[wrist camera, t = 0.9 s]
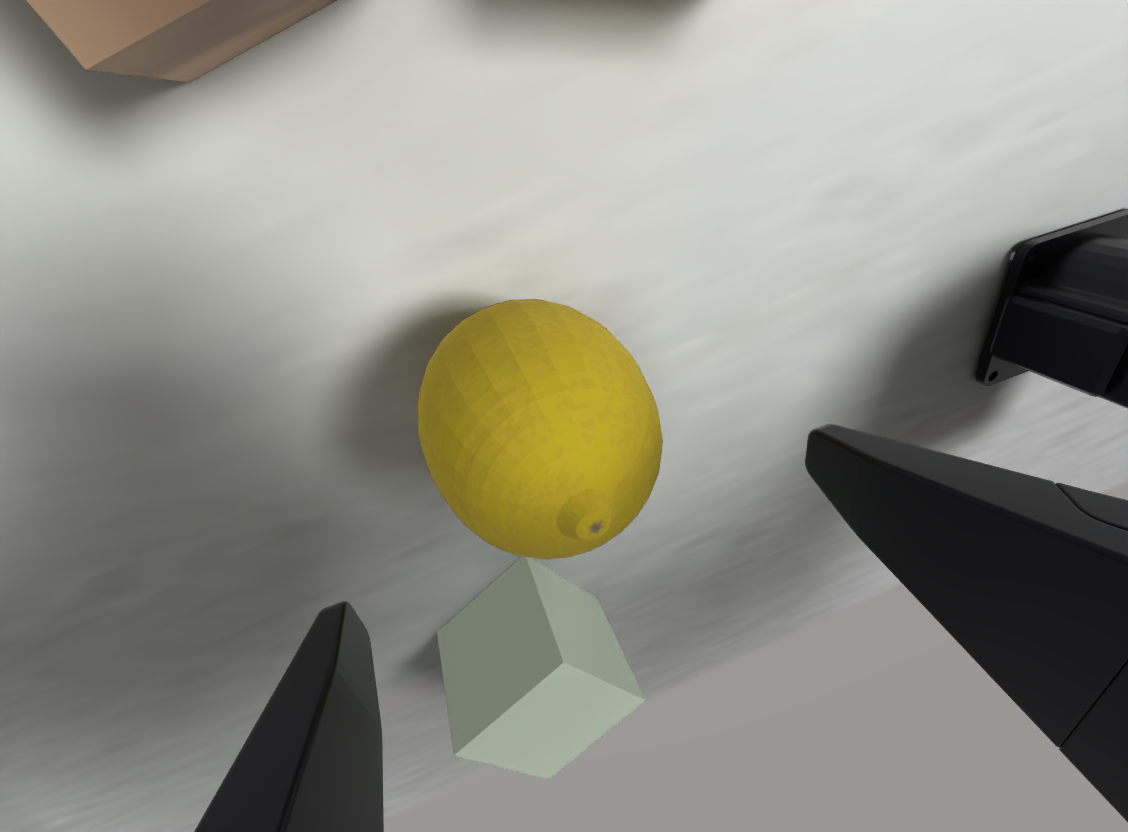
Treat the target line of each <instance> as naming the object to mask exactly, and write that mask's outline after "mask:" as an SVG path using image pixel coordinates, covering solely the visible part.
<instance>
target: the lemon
mask: <svg viewBox="0 0 1128 832" xmlns="http://www.w3.org/2000/svg"><path fill="white" fill-rule="evenodd" d="M418 434H419V440H420V444H421V448H422V451H423V454H424V457H425V460H426V463H427V466H428V469H429V472H430V475H431V477H432V479H433V481H434V483H435V485H436V487H437V489H438V490H439V492H440V493H441V495H442V496H443V498H444V499H445V500H446V502H447V503H448V504H449V506H450V507H451V508H452V510H453V511H454V513H455V514H456V515H457V517H458V518H459V519H460V520H461V521H462V523H463V524H464V525H465V526H467V527H468V528H469V529H470V530H471V531H473V532H474V533H475V534H477V535H478V536H479V537H481V538H482V539H483V540H485V541H486V542H488V543H489V544H491V545H493V546H495V547H497V548H499V549H502V550H504V551H507V552H510V553H512V554H515V555H518V556H524V557H532V558H541V559H553V558H564V557H570V556H574V555H578V554H581V553H585V552H588V551H591V550H593V549H595V548H597V547H599V546H601V545H603V544H605V543H607V542H608V541H609V540H611V539H612V538H614V537H615V536H616V535H618V534H619V533H621V532H622V531H623V530H624V529H625V528H626V527H627V526H628V525H629V524H630V523H631V521H632V520H633V519H634V518H635V517H636V516H637V515H638V513H639V512H640V510H641V509H642V507H643V506H644V504H645V503H646V501H647V500H648V498H649V496H650V494H651V491H652V489H653V486H654V484H655V481H656V478H657V476H658V473H659V468H660V460H661V453H662V443H663V441H662V434H661V427H660V421H659V415H658V409H657V406H656V403H655V400H654V397H653V395H652V393H651V391H650V389H649V387H648V385H647V383H646V381H645V379H644V376H643V374H642V372H641V370H640V369H639V367H638V365H637V363H636V361H635V360H634V358H633V357H632V356H631V354H630V353H629V352H628V351H627V350H626V348H625V347H624V346H623V345H622V344H621V343H620V342H619V341H618V340H617V339H616V338H615V337H614V336H613V335H612V334H611V333H610V332H609V331H608V330H607V329H606V328H605V327H604V326H603V325H601V324H600V323H598V322H596V321H595V320H593V319H591V318H589V317H588V316H586V315H584V314H582V313H580V312H578V311H577V310H575V309H573V308H571V307H568V306H565V305H561V304H556V303H552V302H548V301H544V300H538V299H529V300H509V301H505V302H502V303H499V304H495V305H492V306H488V307H485V308H483V309H481V310H480V311H478V312H476V313H475V314H473V315H471V316H469V317H468V318H466V319H464V320H462V321H461V322H460V323H459V324H458V325H457V326H456V327H455V328H454V329H453V330H452V331H451V332H450V333H448V334H447V335H446V336H445V337H444V338H443V339H442V341H441V343H440V344H439V346H438V347H437V349H436V351H435V352H434V354H433V356H432V357H431V359H430V361H429V362H428V364H427V367H426V371H425V374H424V378H423V381H422V384H421V388H420V392H419V396H418Z"/></svg>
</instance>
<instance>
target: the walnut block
mask: <svg viewBox="0 0 1128 832" xmlns="http://www.w3.org/2000/svg"><path fill="white" fill-rule="evenodd" d="M26 1H27V2H28V3H29V4H30V5H31V7H32V8H33V9H34V10H35V11H36V12H37V14H38V15H39V16H40V17H41V18H42V19H43V21H44V22H45V23H46V24H47V25H48V26H49V28H50V29H51V30H52V31H53V32H54V33H55V35H56V36H57V37H58V38H59V39H60V40H61V42H62V43H63V44H64V45H65V46H66V47H67V49H68V50H69V51H70V52H71V53H72V54H73V56H74V57H75V58H76V59H77V60H78V61H79V63H80V64H81V65H82V66H83V67H84V68H85V70H91V71H99V72H108V73H116V74H124V75H132V76H141V77H149V78H157V79H165V80H174V81H182V82H192V81H193V80H195V79H197V78H199V77H201V76H202V75H204V74H206V73H208V72H209V71H211V70H213V69H215V68H217V67H218V66H220V65H222V64H224V63H226V62H227V61H229V60H231V59H233V58H234V57H236V56H238V55H240V54H242V53H243V52H245V51H247V50H249V49H250V48H252V47H254V46H256V45H258V44H259V43H261V42H263V41H265V40H267V39H268V38H270V37H272V36H274V35H275V34H277V33H279V32H281V31H283V30H284V29H286V28H288V27H290V26H292V25H293V24H295V23H297V22H299V21H300V20H302V19H304V18H306V17H308V16H309V15H311V14H313V13H315V12H316V11H318V10H320V9H322V8H324V7H325V6H327V5H329V4H331V3H333V2H334V1H336V0H26Z"/></svg>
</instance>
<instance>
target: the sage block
mask: <svg viewBox="0 0 1128 832" xmlns="http://www.w3.org/2000/svg"><path fill="white" fill-rule="evenodd" d="M437 637H438V644H439V651H440V658H441V666H442V673H443V680H444V688H445V695H446V702H447V709H448V717H449V724H450V731H451V739H452V746H453V753H454V756H457V757H461V758H465V759H469V760H474V761H478V762H482V763H486V764H490V765H494V766H498V767H502V768H506V769H510V770H514V771H518V772H522V773H526V774H530V775H534V776H539V777H543V778H547V779H550V778H551V777H552V776H553V775H554V774H556V773H557V772H558V771H559V770H561V769H562V768H563V767H564V766H566V765H567V764H568V763H569V762H570V761H572V760H573V759H574V758H575V757H577V756H578V755H579V754H580V753H582V752H583V751H584V750H585V749H586V748H588V747H589V746H590V745H591V744H593V743H594V742H595V741H596V740H597V739H599V738H600V737H601V736H602V735H604V734H605V733H606V732H607V731H609V730H610V729H611V728H612V727H614V726H615V725H616V724H617V723H618V722H620V721H621V720H622V719H623V718H625V717H626V716H627V715H628V714H629V713H631V712H632V711H633V710H634V709H636V708H637V707H638V706H639V705H641V704H642V703H643V702H644V701H646V700H645V698H644V696H643V694H642V692H641V689H640V687H639V685H638V683H637V681H636V679H635V677H634V675H633V672H632V670H631V668H630V666H629V664H628V662H627V660H626V658H625V656H624V653H623V651H622V649H621V647H620V645H619V643H618V641H617V639H616V636H615V634H614V632H613V630H612V628H611V626H610V624H609V622H608V620H607V617H606V615H605V613H604V611H603V609H602V607H601V605H600V603H599V601H598V598H596V597H595V596H593V595H591V594H590V593H588V592H586V591H585V590H583V589H582V588H580V587H578V586H577V585H575V584H573V583H572V582H570V581H569V580H567V579H565V578H564V577H562V576H560V575H559V574H557V573H556V572H554V571H552V570H551V569H549V568H547V567H546V566H544V565H542V564H541V563H539V562H538V561H536V560H534V559H533V558H531V557H524V556H522V557H521V558H519V559H518V560H517V561H516V562H515V563H514V564H513V565H512V566H511V567H509V568H508V569H507V570H506V571H505V572H504V573H503V574H502V575H500V576H499V577H498V578H497V579H496V580H495V581H494V582H493V583H491V584H490V585H489V586H488V587H487V588H486V589H485V590H484V591H483V592H481V593H480V594H479V595H478V596H477V597H476V598H475V599H474V600H472V601H471V602H470V603H469V604H468V605H467V606H466V607H465V608H464V609H462V610H461V611H460V612H459V613H458V614H457V615H456V616H455V617H453V618H452V619H451V620H450V621H449V622H448V623H447V624H446V625H445V626H443V627H442V628H441V629H440V630H439V631H438V632H437Z"/></svg>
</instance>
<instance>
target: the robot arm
mask: <svg viewBox="0 0 1128 832" xmlns="http://www.w3.org/2000/svg"><path fill="white" fill-rule="evenodd" d="M1027 371H1031V372H1033V373H1036V374H1038V375H1041V376H1043V377H1046V378H1048V379H1050V380H1053V381H1055V382H1058V383H1060V384H1063V385H1065V386H1068V387H1070V388H1073V389H1075V390H1078V391H1080V392H1083V393H1085V394H1088V395H1090V396H1095V397H1097V396H1098V397H1100V398H1103V399H1105V400H1108V401H1110V402H1113V403H1115V404H1118V405H1120V406H1123V407H1125V408H1128V209H1126V210H1123V211H1120V212H1117V213H1114V214H1111V215H1107V216H1104V217H1101V218H1098V219H1095V220H1092V221H1089V222H1086V223H1082V224H1079V225H1076V226H1073V227H1070V228H1067V229H1064V230H1061V231H1057V232H1054V233H1051V234H1048V235H1045V236H1042V237H1039V238H1036V239H1033V240H1029V241H1027V242H1025V243H1023V244H1022V245H1021V246H1020V247H1019V249H1018V250H1017V251H1016V253H1015V256H1014V258H1013V261H1012V265H1011V268H1010V271H1009V274H1008V277H1007V280H1006V283H1005V286H1004V290H1003V293H1002V296H1001V299H1000V302H999V305H998V308H997V311H996V315H995V318H994V321H993V324H992V327H991V330H990V333H989V336H988V340H987V343H986V346H985V349H984V352H983V355H982V358H981V361H980V365H979V368H978V371H977V374H976V381H977V382H979V383H982V384H984V385H986V386H990V385H993V384H995V383H998V382H1001V381H1003V380H1006V379H1008V378H1011V377H1014V376H1016V375H1019V374H1022V373H1024V372H1027ZM805 466H806V469H807V471H808V473H809V475H810V476H811V477H812V479H813V480H814V481H815V482H816V484H817V485H818V486H819V488H820V489H821V490H822V491H823V493H824V494H825V495H826V497H827V498H828V499H829V501H830V502H831V503H832V504H833V506H834V507H835V508H836V510H837V511H838V512H839V513H840V515H841V516H842V517H843V519H844V520H845V521H846V522H847V524H848V525H849V526H850V527H851V529H852V530H853V531H854V532H855V534H856V535H857V536H858V537H859V538H860V539H861V540H862V541H863V542H864V544H865V545H866V546H867V547H868V548H869V549H870V550H871V551H872V552H873V553H874V554H875V555H876V556H877V557H878V558H879V559H880V560H881V562H882V563H883V564H884V565H885V566H886V567H887V568H888V569H889V570H890V571H891V572H892V573H893V574H894V575H895V576H896V577H897V578H898V579H899V581H900V582H901V583H902V584H903V585H904V586H905V587H906V588H907V589H908V590H909V591H910V592H911V593H912V594H913V595H914V596H915V597H916V599H917V600H919V602H920V603H921V604H922V605H923V606H924V607H925V608H926V609H927V610H928V611H929V612H930V613H931V614H932V615H933V616H934V618H935V619H936V620H937V621H938V622H939V623H940V624H941V625H942V626H943V627H944V628H945V629H946V630H947V631H948V632H949V633H950V634H951V635H952V636H953V637H954V639H955V640H956V641H957V642H958V643H959V644H960V645H961V646H962V647H963V648H964V649H965V650H966V651H967V652H968V653H969V655H971V657H972V658H973V659H974V660H975V661H976V662H977V663H978V664H979V665H980V666H981V667H982V668H983V669H984V670H985V671H986V672H987V674H988V675H989V676H990V677H991V678H992V679H993V680H994V681H995V682H996V683H997V684H998V685H999V686H1000V687H1001V688H1002V689H1003V690H1004V692H1005V693H1006V694H1007V695H1008V696H1009V697H1010V698H1011V699H1012V700H1013V701H1014V702H1015V703H1016V704H1017V705H1018V706H1019V707H1020V708H1021V709H1022V711H1023V712H1024V713H1025V714H1026V715H1027V716H1028V717H1029V718H1030V719H1031V720H1032V721H1033V722H1034V723H1035V724H1036V725H1037V726H1038V727H1039V728H1040V730H1041V731H1042V732H1043V733H1044V734H1045V735H1046V736H1047V737H1048V738H1049V739H1050V740H1051V741H1052V742H1053V743H1054V744H1055V745H1056V746H1057V747H1059V750H1060V751H1061V752H1062V753H1063V754H1064V755H1065V756H1066V757H1067V759H1068V760H1069V761H1070V762H1071V763H1072V764H1073V765H1074V766H1075V767H1076V768H1077V769H1078V770H1079V771H1080V772H1081V773H1082V774H1083V775H1084V776H1085V778H1086V779H1087V780H1088V781H1089V782H1090V783H1091V784H1092V785H1093V786H1094V787H1095V788H1096V789H1097V790H1098V791H1099V792H1100V793H1101V794H1102V795H1103V797H1105V799H1106V800H1107V801H1108V802H1109V803H1110V804H1111V805H1112V806H1113V807H1114V808H1115V809H1116V810H1117V811H1118V812H1119V813H1120V814H1121V816H1123V818H1125V820H1126V821H1127V822H1128V500H1125V499H1120V498H1116V497H1112V496H1108V495H1104V494H1100V493H1096V492H1092V491H1088V490H1084V489H1080V488H1076V487H1073V486H1069V485H1065V484H1061V483H1056V484H1055V483H1054V482H1052V481H1049V480H1045V479H1042V478H1038V477H1034V476H1030V475H1026V474H1022V473H1018V472H1015V471H1011V470H1007V469H1003V468H999V467H995V466H992V465H988V464H984V463H980V462H976V461H972V460H968V459H965V458H961V457H957V456H953V455H949V454H945V453H941V452H938V451H934V450H930V449H926V448H922V447H918V446H914V445H911V444H907V443H903V442H899V441H895V440H891V439H887V438H884V437H880V436H876V435H872V434H868V433H864V432H860V431H857V430H853V429H849V428H845V427H841V426H837V425H833V424H827V425H824V426H821V427H818V428H816V429H813V430H811V431H810V433H809V434H808V440H807V448H806V457H805ZM194 832H384V823H383V758H382V729H381V720H380V711H379V704H378V696H377V689H376V681H375V673H374V666H373V658H372V651H371V643H370V638H369V635H368V632H367V629H366V628H365V626H364V624H363V623H362V621H361V620H360V618H359V617H358V615H357V614H356V612H355V610H354V609H353V607H352V606H351V605H350V604H349V603H348V602H346V601H345V602H340V603H337V604H335V605H332V606H329V607H327V608H324V609H323V610H322V611H321V612H320V613H319V614H318V616H317V618H316V619H315V621H314V623H313V625H312V626H311V628H310V630H309V632H308V633H307V635H306V637H305V639H304V640H303V642H302V644H301V646H300V647H299V649H298V651H297V653H296V654H295V656H294V658H293V660H292V661H291V663H290V665H289V667H288V668H287V670H286V672H285V674H284V675H283V677H282V679H281V681H280V682H279V684H278V686H277V688H276V689H275V691H274V693H273V695H272V696H271V698H270V700H269V702H268V703H267V705H266V707H265V709H264V710H263V712H262V714H261V716H260V717H259V719H258V721H257V723H256V724H255V726H254V728H253V730H252V731H251V733H250V735H249V737H248V738H247V740H246V742H245V744H244V745H243V747H242V749H241V751H240V752H239V754H238V756H237V758H236V759H235V761H234V763H233V765H232V766H231V768H230V770H229V772H228V773H227V775H226V777H225V779H224V780H223V782H222V784H221V786H220V787H219V789H218V791H217V793H216V794H215V796H214V798H213V800H212V801H211V803H210V805H209V807H208V808H207V810H206V812H205V814H204V815H203V817H202V819H201V821H200V822H199V824H198V826H197V828H196V829H195V831H194Z"/></svg>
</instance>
